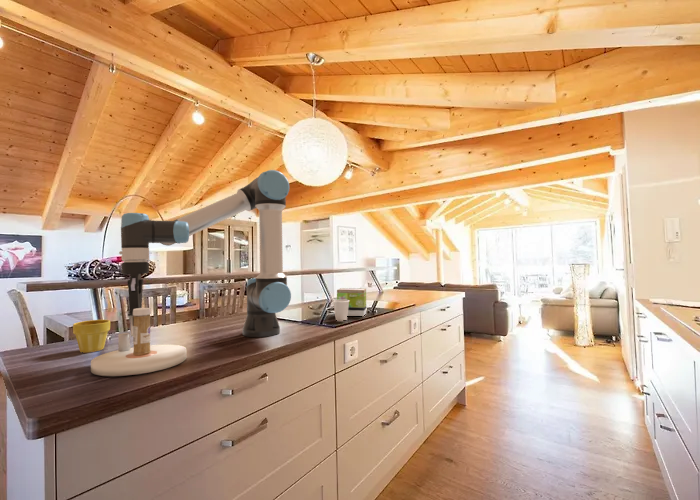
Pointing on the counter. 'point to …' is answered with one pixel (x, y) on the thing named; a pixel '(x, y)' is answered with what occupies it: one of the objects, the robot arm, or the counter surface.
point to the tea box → (354, 300)
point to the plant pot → (91, 334)
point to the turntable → (136, 359)
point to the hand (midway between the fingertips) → (136, 335)
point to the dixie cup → (341, 309)
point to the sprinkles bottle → (141, 331)
